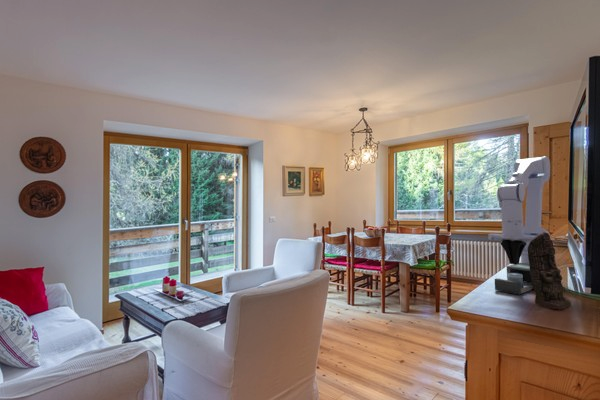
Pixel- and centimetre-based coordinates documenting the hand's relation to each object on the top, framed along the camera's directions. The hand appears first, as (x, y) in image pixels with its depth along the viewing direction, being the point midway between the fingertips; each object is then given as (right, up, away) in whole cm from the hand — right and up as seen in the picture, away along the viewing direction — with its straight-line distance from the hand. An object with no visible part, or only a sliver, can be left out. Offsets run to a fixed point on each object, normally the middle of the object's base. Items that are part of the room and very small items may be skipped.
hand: (514, 263), depth 101 cm
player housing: (+8, -8, +4) cm, 12 cm away
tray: (0, -8, 0) cm, 8 cm away
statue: (0, -9, -15) cm, 17 cm away
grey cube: (0, -7, 0) cm, 7 cm away
